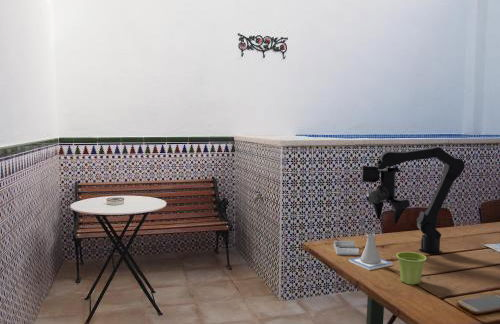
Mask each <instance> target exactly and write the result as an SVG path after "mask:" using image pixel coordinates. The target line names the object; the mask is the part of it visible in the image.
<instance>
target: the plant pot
mask: <svg viewBox="0 0 500 324" xmlns="http://www.w3.org/2000/svg"><path fill="white" fill-rule="evenodd" d="M396 257H397V261H398V267H399V276H400V278H399V279H400V282H403V283H404V284H407V285H413V286H414V285H418V284H420V283H421V280H422V275H423V268H424V264H425V262H426V261H427V256H426V255H424V254H422V253H419V252H415V251H414V252H413V251H400V252H398V253H396Z"/></svg>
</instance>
